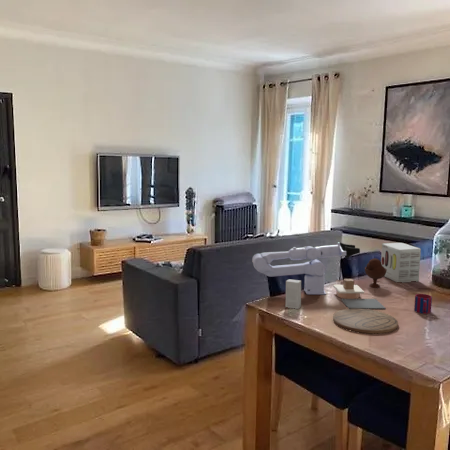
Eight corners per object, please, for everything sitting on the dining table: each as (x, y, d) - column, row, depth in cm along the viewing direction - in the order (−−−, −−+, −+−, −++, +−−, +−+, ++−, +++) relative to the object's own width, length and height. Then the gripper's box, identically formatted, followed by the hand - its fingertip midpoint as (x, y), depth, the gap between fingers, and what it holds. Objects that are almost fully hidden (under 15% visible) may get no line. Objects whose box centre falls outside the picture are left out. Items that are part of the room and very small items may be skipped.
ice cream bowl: (389, 289, 232) (390, 260, 230) (366, 289, 232) (368, 260, 230) (382, 283, 243) (384, 255, 240) (361, 283, 243) (362, 255, 241)
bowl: (340, 299, 217) (340, 292, 216) (335, 292, 227) (335, 286, 226) (361, 299, 217) (361, 292, 217) (355, 292, 227) (355, 286, 226)
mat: (348, 309, 203) (349, 307, 202) (341, 299, 215) (341, 298, 215) (385, 309, 203) (385, 307, 203) (375, 299, 216) (375, 298, 216)
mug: (430, 309, 202) (431, 294, 201) (431, 317, 193) (432, 301, 192) (414, 307, 205) (415, 293, 204) (414, 315, 196) (415, 299, 195)
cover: (339, 293, 216) (339, 283, 215) (333, 286, 227) (333, 276, 226) (364, 293, 216) (364, 283, 215) (356, 286, 227) (357, 276, 227)
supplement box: (379, 274, 261) (381, 243, 259) (400, 273, 264) (402, 242, 262) (397, 283, 245) (399, 249, 242) (419, 281, 248) (421, 248, 245)
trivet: (320, 320, 189) (320, 316, 189) (359, 309, 204) (359, 304, 204) (371, 340, 170) (372, 335, 169) (410, 325, 184) (411, 321, 184)
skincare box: (301, 306, 206) (301, 280, 204) (298, 309, 202) (299, 282, 200) (287, 304, 208) (288, 278, 207) (284, 307, 205) (285, 281, 203)
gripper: (332, 246, 216) (361, 243, 216) (325, 240, 231) (352, 238, 231) (333, 260, 217) (362, 258, 217) (326, 254, 232) (353, 252, 232)
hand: (357, 249), depth 224 cm, fingers open, 7 cm apart
